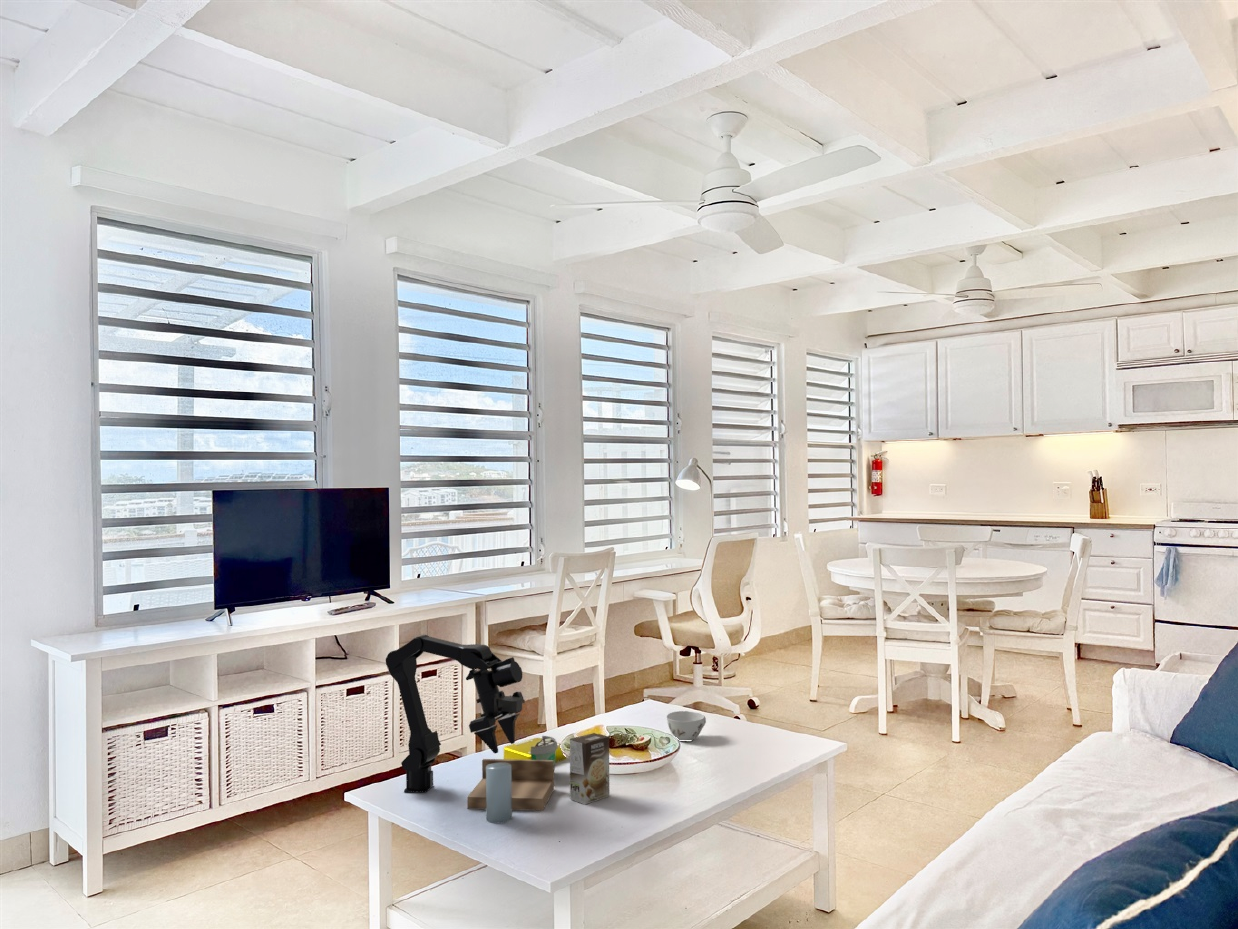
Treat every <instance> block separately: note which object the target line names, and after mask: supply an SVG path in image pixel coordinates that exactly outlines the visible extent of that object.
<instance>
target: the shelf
mask: <svg viewBox="0 0 1238 929" xmlns="http://www.w3.org/2000/svg"><path fill="white" fill-rule="evenodd" d="M498 762H503V763H509V764H511V783H512V811H514V810H515V811H516V810H517V811H544V808H545V807H546V805H547V803H548V802H549V799H550V798H551V796H552V794H553V792H554V790H555V769H554V760H516V759H504V758H483V759H482V760H481V765H482V767H481V771H482V773H481V774H482V778H481V779H480V781H479V782H478V783H477V784H476V786H474V788H473V789H472V791H471V792H470V793H468V794H469V795H467V800H466V804H467V806H466V807H467V808H466V809H468V810H474V809H475V810H486V766H487V765H489V764H492V763H498Z"/></svg>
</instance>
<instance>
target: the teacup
mask: <svg viewBox="0 0 1238 929" xmlns="http://www.w3.org/2000/svg"><path fill="white" fill-rule="evenodd" d="M666 721H667V725H668V730H669V731H670V732H671V734H672V735H673V736H675V737H677V738H678V739H679V740H693V739H694V740H695V739H697V737H698V736H699V735H700V734H701V732H702V730H703V728H704V726H706V723H707V719H706V716H705V715H704V714H702V713H701V712H694V711H689V710H685V711H684V710H679V711H673V712H669V713H668V714H667V715H666ZM675 737H674V738H675ZM694 740H693V741H694Z"/></svg>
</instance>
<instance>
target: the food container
mask: <svg viewBox="0 0 1238 929" xmlns="http://www.w3.org/2000/svg"><path fill="white" fill-rule="evenodd" d="M541 738H542V740H541V741H540V742H538V743H537V744H536V746H535V747H531V760H554V770H555V768H556V763H555V752H556V750H557V749H558V745H557V743H558V741H557V739H556V738H555V737H553V736H550V735H549V736H547V735H542V736H541Z"/></svg>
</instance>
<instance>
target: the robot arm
mask: <svg viewBox="0 0 1238 929" xmlns="http://www.w3.org/2000/svg"><path fill="white" fill-rule="evenodd" d="M424 653H427V654H431V655H436V656H440V657H442V658H443V657H444V658H448V659H450V660H451V659H452V660H454V661H456V662H458V663H459V664H460V665H461V666H462V667H463V666H464V667H466V668H468V669H470V670H469V672H468V674H467V676H466V677H465V680H466V681H469V680H473V681H474V682H473V683H474V686H475V689H476V692H477V695H478V698H477V699H476V704H480V705H481V706H480V707H481V709H482V713H481V714H480V717H478V718H475V719H473V720H471V721H470V722H469V725H468V727H469V728H468V729H469V731H470V733H471V734H473V735H476V736H477V737H478V738H479V739H480V740H481V741H482V742H483V743H484V744H485V745H486V746H487V747H488V748H489V750H491V752H492V753H493V754H497V753H499V748H498V743H497V736H496V730H497V727H498V725H497V724H496V721H497V723H498V724H499V726H500V728H501V730H502V731H503V733H504V735H505V736H506V739H507V740H508V742H509V744H510V745H512V744H516V743H515V742H516V741H515V740H516V739H515V735H516V734H515V732H516V721H517V719H518V717H519V716H520V713H521V712H522V710H523V704H524V703H525V699H524V696H523V694H522V692H521V691H515V692H513V693H512V695H507V696H506V695H505V694H506V693H505V692H504V691H503V690H500V688H503V687H506V686H510V685H513V684H517V683H520V682H521V681H522V679H523V670H522V667H521V666H520V664H519V663H518V662H517V661H516V660H515V658H514V656H512V657H509V658H507V659H505V660H502V659H500V658H499V657H498V656H497V655H496V654H494V653H493V652H492V650H491V648H490V646H488V645H486V644H477V643H476V644H475V643H474V644H472V643H471V644H462V643H461V644H460V643H457V642H454V641H449V640H445V639H441V638H437V637H432V636H430V635H427V634H420V635H418V636H415V637H414V638H412V639H411V640H410V641H409V642H408V643H405V644H403V645H402V646H400V647H399V648H398V649H396V650H392V651H389V652H388V654H387V656H386V657H385V664H386V665H385V666H386V667H387V671H388V672H389V674H390V676H391V678H393V679H394V681H396V683H397V686H398V688H399V693H400V697H401V701H402V704H403V705H402V706H403V709H404V713H405V716H406V720H407V721H406V722H407V724H408V729H409V733H410V734H409V740H408V744H407V746H408V755H407V756H406V757H405V758H404V759H403V760H402V761H401V767H402V770H403V771H405V772H406V773H405V777H406V778H405V780H406V781H405V786H406V788H405V789H404V790H403V792H404V793H427V792H428V791H429V790H430V789H431V788H432V787H433V786H434V771H433V770H432V764H434V763H435V761H436V758H437V757H438V756H439V753H440V750H441V748H440V746H441V745H442V743H441V742H440V740H439V733H438V731H437V730H434V731H432V730H431V729H430V728H429V727H428V722H427V719H426V715H425V711H424V707H423V704H422V700H421V696H420V691H419V688H418V684H417V679H416V673H417V668H418V664H417V663H418V662H417V659H418V658H419V657H420V656H422V654H424ZM477 669H478V670H477ZM489 669H490V670H489ZM499 687H500V688H499Z"/></svg>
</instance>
